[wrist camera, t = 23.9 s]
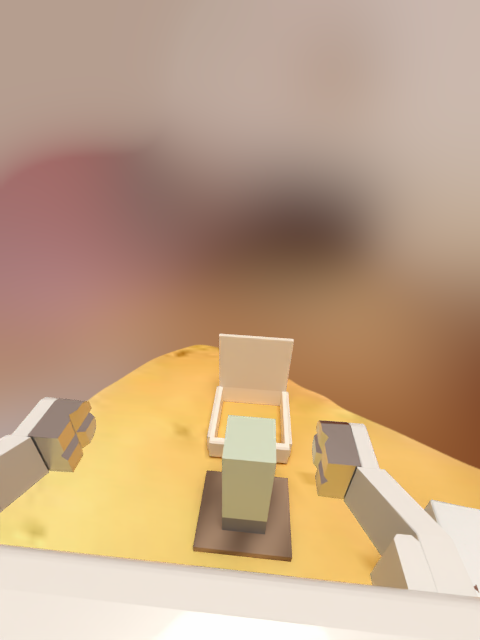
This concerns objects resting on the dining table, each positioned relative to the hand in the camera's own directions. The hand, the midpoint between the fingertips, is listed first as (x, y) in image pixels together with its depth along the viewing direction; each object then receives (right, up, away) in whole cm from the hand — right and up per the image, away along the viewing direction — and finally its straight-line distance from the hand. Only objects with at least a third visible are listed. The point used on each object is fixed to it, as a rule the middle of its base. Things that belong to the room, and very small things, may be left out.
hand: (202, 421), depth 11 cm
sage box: (+2, -20, +27) cm, 33 cm away
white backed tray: (+3, -14, +38) cm, 41 cm away
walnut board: (+2, -21, +27) cm, 34 cm away
